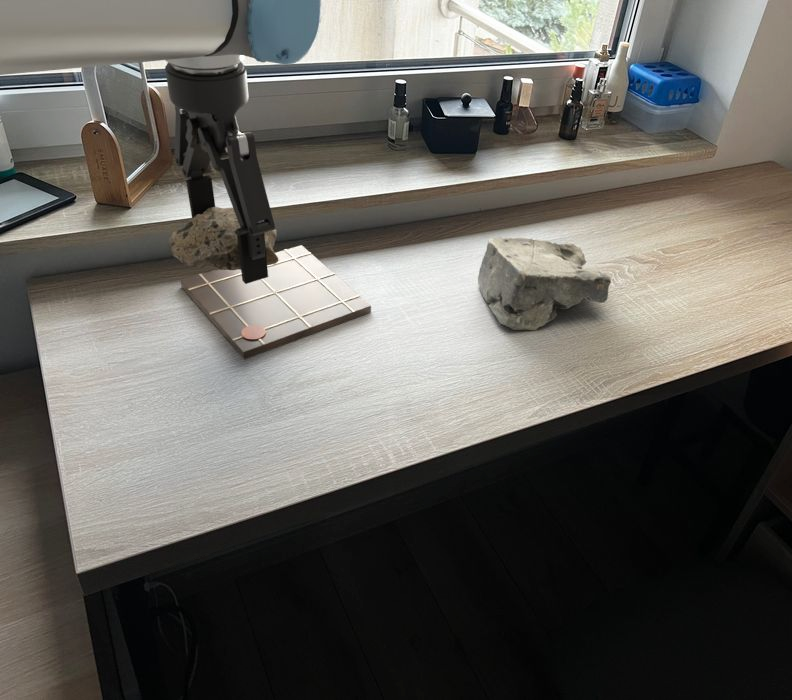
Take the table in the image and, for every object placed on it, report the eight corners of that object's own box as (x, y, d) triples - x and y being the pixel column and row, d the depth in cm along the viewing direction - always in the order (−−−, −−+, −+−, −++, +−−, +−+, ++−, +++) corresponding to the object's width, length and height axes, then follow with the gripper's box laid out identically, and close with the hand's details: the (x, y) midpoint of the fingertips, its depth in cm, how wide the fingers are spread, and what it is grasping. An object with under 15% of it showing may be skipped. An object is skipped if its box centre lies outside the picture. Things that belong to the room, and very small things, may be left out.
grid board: (243, 359, 95) (243, 351, 94) (181, 287, 106) (179, 279, 106) (371, 312, 106) (371, 304, 105) (301, 251, 117) (301, 243, 116)
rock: (174, 232, 86) (169, 199, 84) (275, 228, 89) (273, 196, 87) (169, 282, 78) (163, 247, 75) (281, 276, 81) (278, 242, 78)
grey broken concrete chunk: (609, 332, 109) (623, 270, 104) (498, 333, 104) (508, 268, 100) (570, 290, 122) (581, 233, 118) (470, 289, 118) (478, 230, 113)
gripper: (302, 97, 65) (311, 294, 79) (190, 23, 79) (215, 201, 92) (223, 111, 61) (247, 315, 75) (120, 30, 75) (156, 215, 88)
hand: (229, 253), depth 84 cm, fingers closed on rock, 12 cm apart
